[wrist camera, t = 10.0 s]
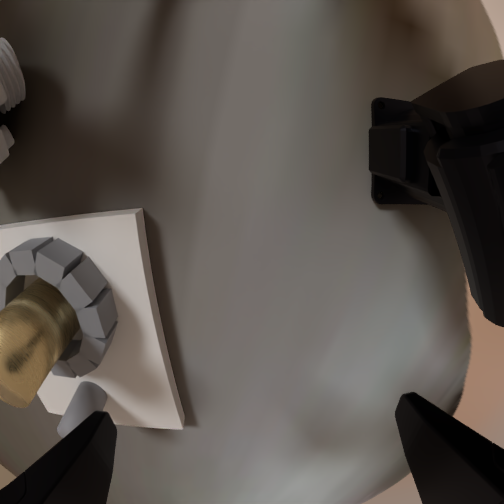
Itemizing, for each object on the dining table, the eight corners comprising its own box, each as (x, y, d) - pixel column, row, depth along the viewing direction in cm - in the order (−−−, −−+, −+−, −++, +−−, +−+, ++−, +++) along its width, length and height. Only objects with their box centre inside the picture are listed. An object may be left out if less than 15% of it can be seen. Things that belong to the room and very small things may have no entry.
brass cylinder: (76, 271, 17) (6, 344, 10) (93, 332, 19) (44, 414, 11) (26, 273, 17) (-44, 334, 10) (44, 328, 19) (-10, 398, 11)
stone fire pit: (142, 207, 18) (98, 241, 12) (185, 416, 24) (176, 477, 18) (-13, 227, 17) (-68, 256, 11) (53, 402, 23) (29, 448, 17)
